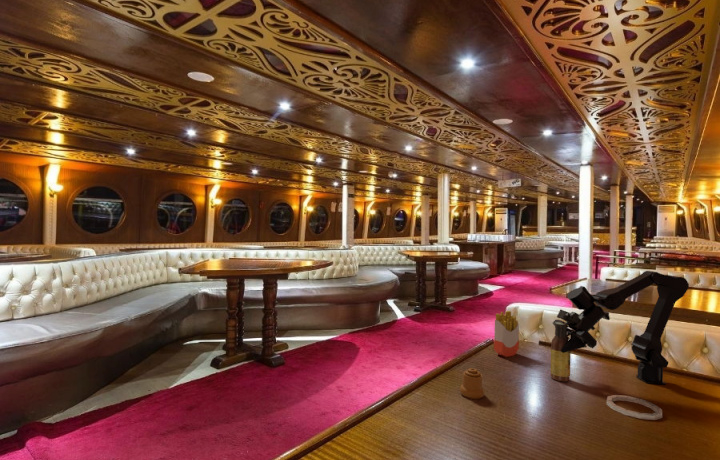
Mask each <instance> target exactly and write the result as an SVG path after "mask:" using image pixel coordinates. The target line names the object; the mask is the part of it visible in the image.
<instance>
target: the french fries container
mask: <svg viewBox="0 0 720 460" xmlns="http://www.w3.org/2000/svg"><path fill="white" fill-rule="evenodd" d="M493 336H494V339H493V341H494V342H493V350H494V351H495V352H496V353H497V355H500V356H502V357H505V358H508V357H512V356H516V354H517V352H518V350H519V348H520V347H519V346H520V324H519V320H517V317H516V316H513V315H512V311H511V310H505V313H504V312H503V311H500V313H495V319H494V335H493Z"/></svg>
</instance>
